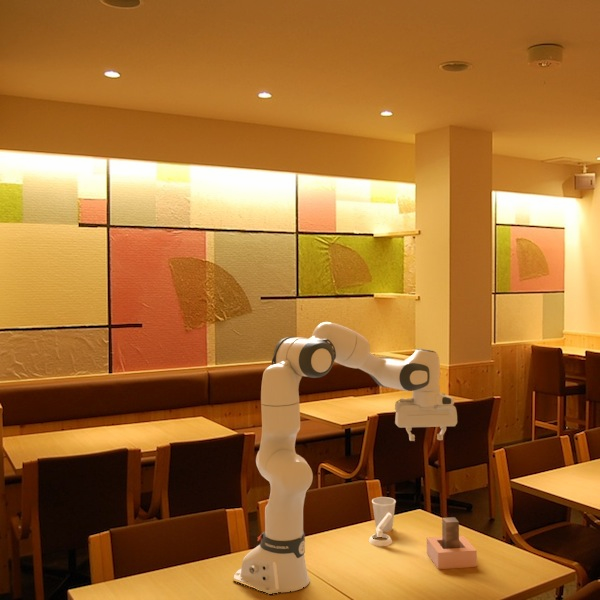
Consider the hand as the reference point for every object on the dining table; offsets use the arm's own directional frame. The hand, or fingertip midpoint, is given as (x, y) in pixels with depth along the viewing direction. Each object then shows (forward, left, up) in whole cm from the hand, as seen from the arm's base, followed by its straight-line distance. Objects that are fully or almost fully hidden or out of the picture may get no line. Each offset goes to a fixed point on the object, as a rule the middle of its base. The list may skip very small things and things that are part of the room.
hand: (426, 440), depth 231 cm
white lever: (-14, -6, -35) cm, 38 cm away
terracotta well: (+11, -10, -34) cm, 37 cm away
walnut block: (+11, -10, -34) cm, 37 cm away
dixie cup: (-17, +5, -34) cm, 39 cm away
